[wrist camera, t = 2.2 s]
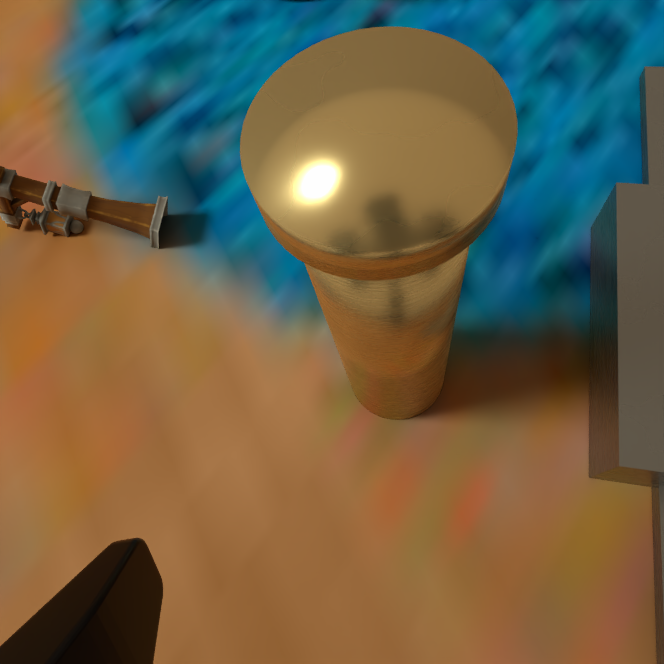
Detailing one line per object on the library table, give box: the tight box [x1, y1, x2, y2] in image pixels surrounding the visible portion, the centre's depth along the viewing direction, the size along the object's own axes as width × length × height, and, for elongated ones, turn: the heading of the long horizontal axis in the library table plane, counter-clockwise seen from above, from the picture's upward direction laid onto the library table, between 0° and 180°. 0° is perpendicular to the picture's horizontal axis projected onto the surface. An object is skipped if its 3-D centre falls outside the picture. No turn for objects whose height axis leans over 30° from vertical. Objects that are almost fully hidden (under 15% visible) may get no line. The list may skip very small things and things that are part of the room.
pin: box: [240, 27, 517, 420], centre depth 15 cm, size 4×4×14 cm
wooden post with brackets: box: [0, 166, 168, 249], centre depth 25 cm, size 2×8×4 cm, turn 83°
